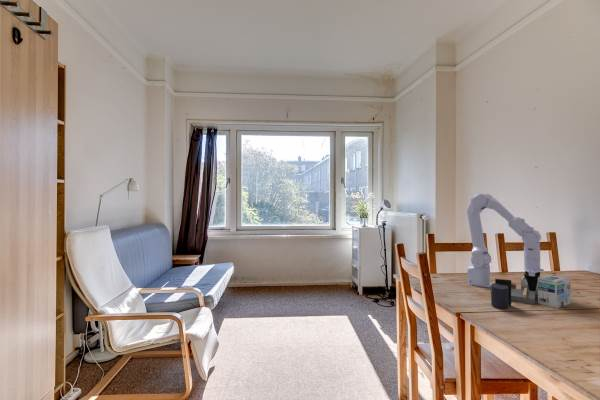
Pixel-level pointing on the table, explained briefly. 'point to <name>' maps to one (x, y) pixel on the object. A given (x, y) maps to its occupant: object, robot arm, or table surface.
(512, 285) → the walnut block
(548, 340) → the table surface
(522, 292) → the stand
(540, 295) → the light bulb box
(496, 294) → the speaker
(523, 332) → the table surface
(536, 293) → the block
